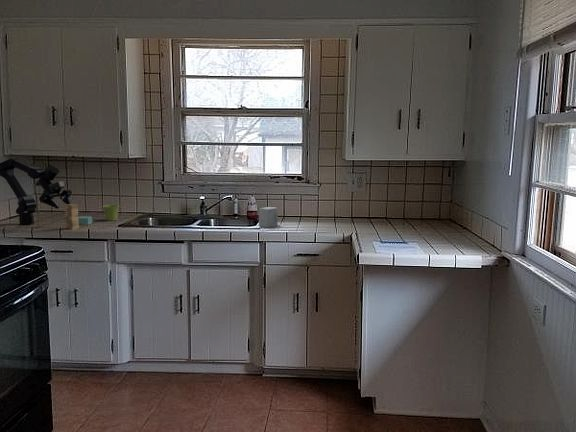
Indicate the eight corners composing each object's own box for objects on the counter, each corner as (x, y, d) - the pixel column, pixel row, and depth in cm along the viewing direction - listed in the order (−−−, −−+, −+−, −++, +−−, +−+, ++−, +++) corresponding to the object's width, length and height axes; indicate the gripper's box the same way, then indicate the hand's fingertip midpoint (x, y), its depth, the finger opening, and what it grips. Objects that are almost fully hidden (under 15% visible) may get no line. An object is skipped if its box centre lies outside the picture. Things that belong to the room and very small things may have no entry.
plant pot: (109, 222, 310) (108, 207, 309) (100, 220, 316) (99, 206, 314) (123, 220, 317) (122, 205, 316) (113, 218, 323) (113, 204, 322)
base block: (75, 225, 299) (75, 218, 298) (80, 223, 306) (79, 216, 305) (88, 225, 299) (87, 218, 299) (92, 223, 306) (92, 216, 306)
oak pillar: (66, 228, 286) (64, 204, 284) (72, 227, 290) (71, 203, 288) (72, 229, 284) (71, 205, 282) (78, 228, 288) (77, 204, 286)
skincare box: (268, 227, 296) (268, 209, 294) (258, 226, 299) (258, 208, 298) (278, 225, 305) (278, 207, 303) (268, 224, 308) (268, 206, 306)
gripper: (41, 177, 278) (59, 199, 275) (68, 175, 295) (85, 195, 293) (31, 191, 282) (48, 213, 279) (58, 188, 299) (74, 209, 296)
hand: (64, 207), depth 287 cm, fingers open, 9 cm apart
